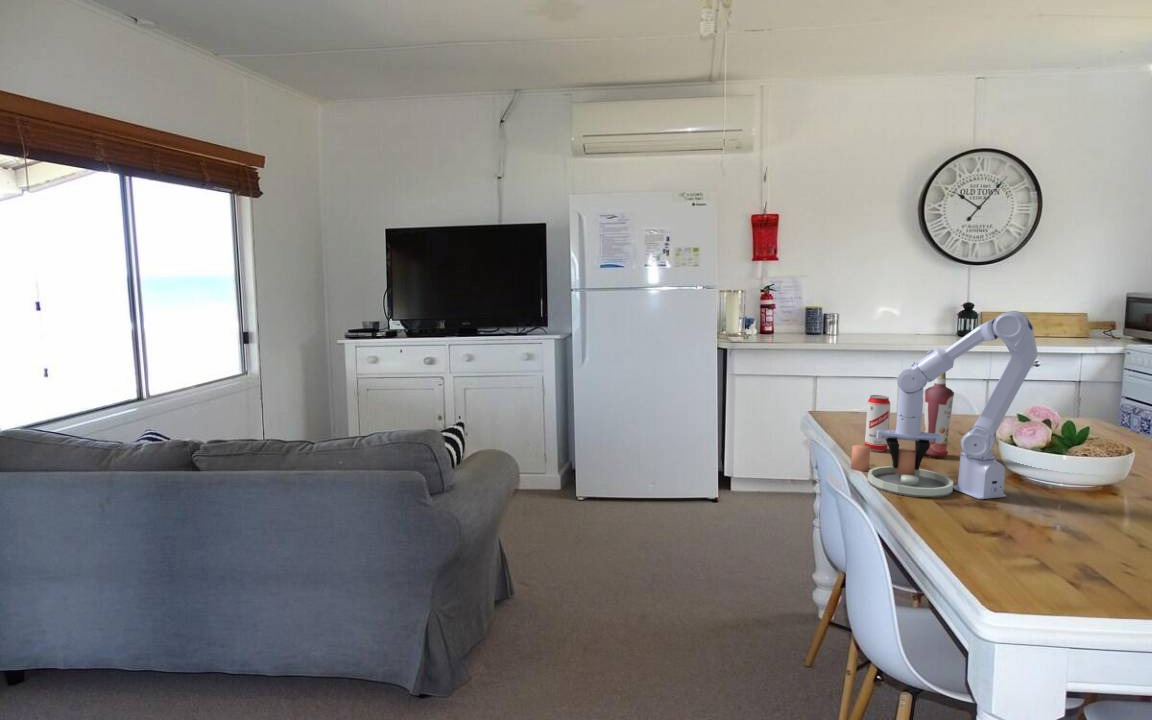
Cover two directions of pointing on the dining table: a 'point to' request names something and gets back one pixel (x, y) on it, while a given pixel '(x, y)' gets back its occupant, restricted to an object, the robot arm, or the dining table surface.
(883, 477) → the groove tray
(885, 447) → the beer can
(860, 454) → the reddish brown rounded cylinder
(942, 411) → the liquor
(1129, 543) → the dining table surface
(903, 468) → the salmon rounded capsule
